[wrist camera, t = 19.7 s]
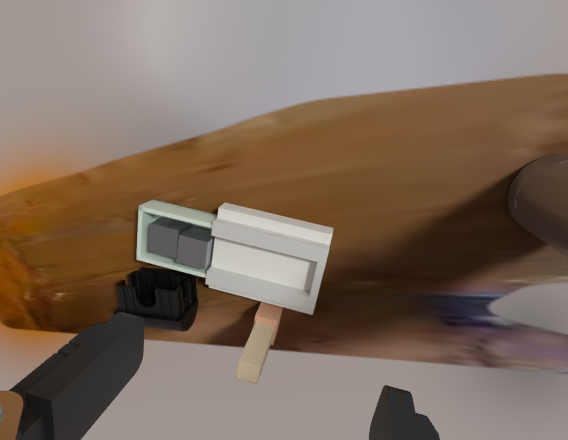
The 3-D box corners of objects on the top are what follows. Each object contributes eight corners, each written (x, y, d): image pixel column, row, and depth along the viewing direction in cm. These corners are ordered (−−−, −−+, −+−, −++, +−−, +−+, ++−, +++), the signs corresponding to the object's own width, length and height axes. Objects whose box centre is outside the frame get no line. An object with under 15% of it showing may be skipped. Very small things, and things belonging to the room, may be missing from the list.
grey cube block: (219, 231, 48) (208, 242, 44) (215, 257, 49) (204, 269, 45) (192, 224, 48) (178, 234, 44) (189, 250, 49) (176, 262, 46)
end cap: (142, 306, 55) (115, 332, 48) (137, 266, 53) (108, 287, 46) (201, 313, 53) (181, 341, 47) (198, 272, 51) (177, 295, 45)
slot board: (333, 228, 45) (331, 238, 41) (314, 305, 49) (311, 321, 45) (225, 202, 47) (214, 210, 43) (214, 279, 51) (204, 292, 47)
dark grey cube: (178, 230, 44) (149, 223, 45) (176, 258, 45) (148, 250, 46) (191, 221, 48) (165, 214, 48) (189, 246, 49) (163, 240, 50)
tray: (223, 216, 47) (213, 224, 44) (216, 267, 50) (207, 278, 47) (152, 199, 48) (138, 205, 45) (150, 250, 51) (136, 259, 48)
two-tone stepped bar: (283, 305, 50) (264, 362, 39) (278, 328, 51) (258, 389, 40) (262, 300, 50) (237, 354, 39) (257, 322, 52) (232, 381, 40)
